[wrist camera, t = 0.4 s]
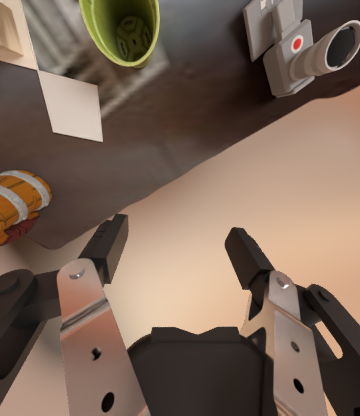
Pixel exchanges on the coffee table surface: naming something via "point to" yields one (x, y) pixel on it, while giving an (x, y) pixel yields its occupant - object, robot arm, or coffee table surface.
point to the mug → (20, 202)
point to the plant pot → (123, 28)
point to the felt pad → (72, 106)
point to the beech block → (9, 32)
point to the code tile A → (28, 58)
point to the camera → (295, 44)
